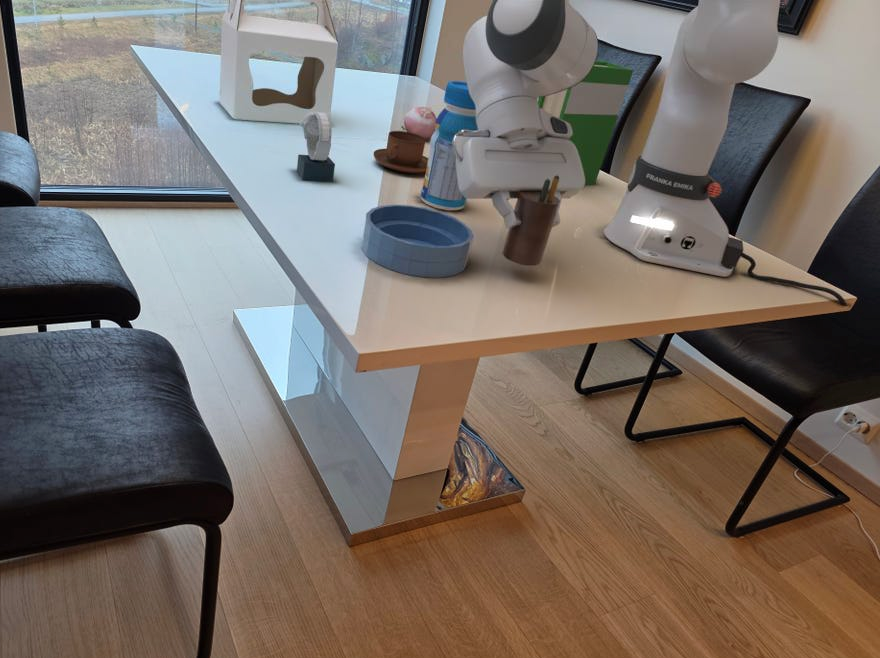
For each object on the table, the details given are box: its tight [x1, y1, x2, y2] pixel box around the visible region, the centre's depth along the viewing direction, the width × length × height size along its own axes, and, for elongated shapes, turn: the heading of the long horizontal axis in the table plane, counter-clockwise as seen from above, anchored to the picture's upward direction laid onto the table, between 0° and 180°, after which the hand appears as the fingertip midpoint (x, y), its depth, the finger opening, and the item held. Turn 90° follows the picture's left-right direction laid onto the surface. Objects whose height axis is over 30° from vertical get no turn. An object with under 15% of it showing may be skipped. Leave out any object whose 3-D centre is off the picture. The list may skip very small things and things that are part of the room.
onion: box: [400, 106, 437, 140], centre depth 155 cm, size 8×8×7 cm
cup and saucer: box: [373, 130, 429, 174], centre depth 132 cm, size 12×12×6 cm
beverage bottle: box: [420, 80, 478, 211], centre depth 114 cm, size 8×8×20 cm
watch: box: [296, 112, 336, 182], centre depth 116 cm, size 6×8×11 cm
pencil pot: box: [501, 175, 561, 267], centre depth 91 cm, size 6×6×12 cm
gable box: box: [219, 0, 339, 125], centre depth 144 cm, size 22×13×28 cm, turn 115°
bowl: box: [361, 204, 474, 279], centre depth 95 cm, size 15×15×5 cm
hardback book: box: [537, 60, 634, 186], centre depth 140 cm, size 18×7×24 cm, turn 126°
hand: (534, 226), depth 91 cm, fingers closed on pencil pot, 5 cm apart
